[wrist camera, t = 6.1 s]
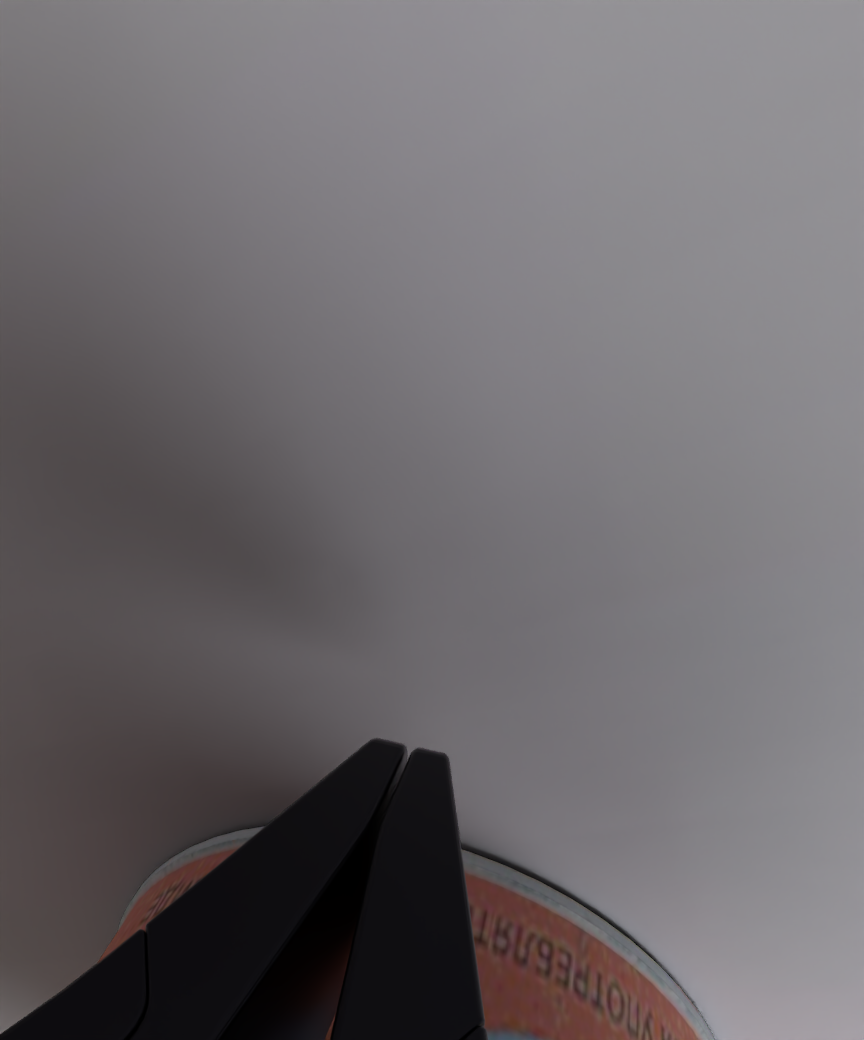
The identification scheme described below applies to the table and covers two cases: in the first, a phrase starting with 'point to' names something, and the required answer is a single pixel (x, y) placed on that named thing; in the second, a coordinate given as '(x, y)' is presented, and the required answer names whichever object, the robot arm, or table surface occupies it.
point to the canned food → (507, 955)
